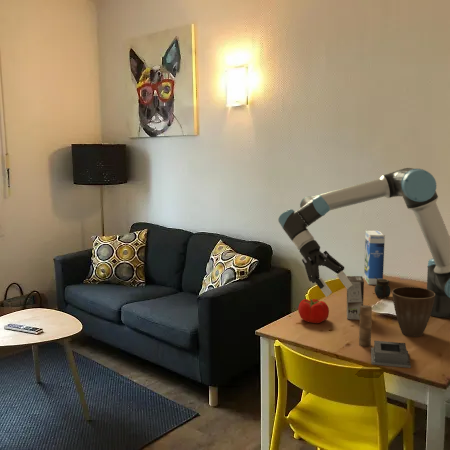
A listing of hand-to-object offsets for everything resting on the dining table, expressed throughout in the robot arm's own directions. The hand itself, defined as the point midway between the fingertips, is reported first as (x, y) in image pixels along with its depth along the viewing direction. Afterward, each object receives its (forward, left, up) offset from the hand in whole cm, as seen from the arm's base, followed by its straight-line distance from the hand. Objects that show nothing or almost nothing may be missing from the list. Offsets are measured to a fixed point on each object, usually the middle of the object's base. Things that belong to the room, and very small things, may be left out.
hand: (339, 290), depth 180 cm
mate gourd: (-17, -55, -18) cm, 60 cm away
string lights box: (-14, -81, -18) cm, 84 cm away
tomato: (+11, -16, -18) cm, 26 cm away
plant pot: (-26, -10, -18) cm, 33 cm away
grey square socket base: (-17, +15, -18) cm, 29 cm away
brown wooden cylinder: (-9, +5, -18) cm, 21 cm away
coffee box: (-5, -25, -18) cm, 31 cm away
